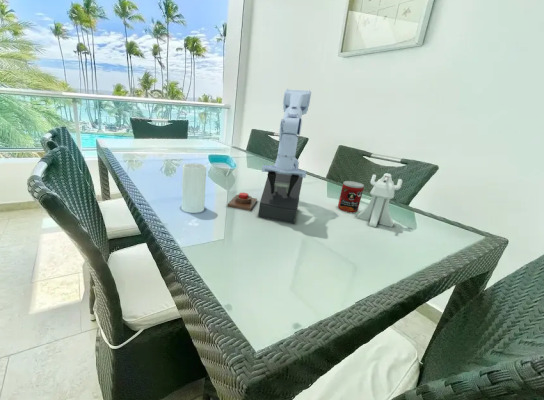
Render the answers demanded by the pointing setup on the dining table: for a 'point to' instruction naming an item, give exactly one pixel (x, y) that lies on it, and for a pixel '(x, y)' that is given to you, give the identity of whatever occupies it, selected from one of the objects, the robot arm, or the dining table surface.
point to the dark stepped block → (277, 213)
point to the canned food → (350, 196)
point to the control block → (242, 203)
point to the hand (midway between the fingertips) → (280, 194)
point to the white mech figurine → (380, 201)
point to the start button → (243, 195)
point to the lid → (282, 193)
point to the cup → (193, 187)
